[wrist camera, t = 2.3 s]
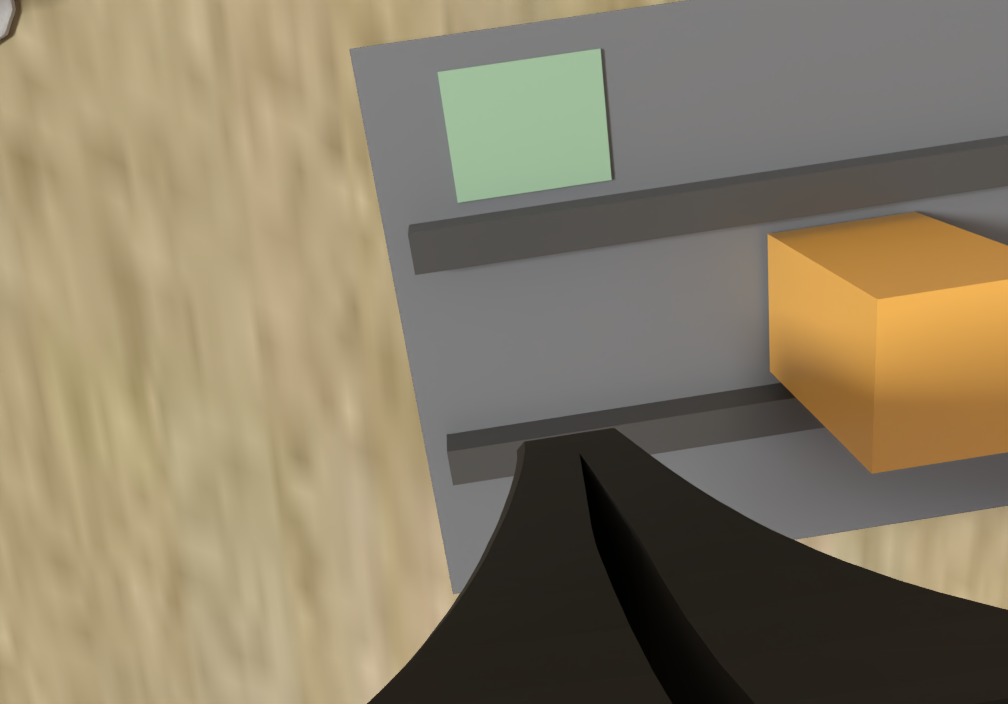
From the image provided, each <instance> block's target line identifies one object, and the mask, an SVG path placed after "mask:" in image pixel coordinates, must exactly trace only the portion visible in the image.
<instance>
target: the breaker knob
mask: <svg viewBox="0 0 1008 704" xmlns="http://www.w3.org/2000/svg"><path fill="white" fill-rule="evenodd" d="M768 291H769V349H770V372H771V373H772V374H773V375H774V376H775V377H776V378H777V379H778V380H779V381H780V382H781V383H782V384H783V385H784V386H785V387H786V388H787V389H788V390H789V391H790V392H791V393H792V394H793V395H794V396H795V397H796V398H797V399H798V400H799V401H800V402H801V403H802V404H803V405H804V406H805V407H806V408H807V409H808V410H809V411H810V412H811V413H812V414H813V415H814V416H815V417H816V418H817V419H818V420H819V421H820V422H821V423H822V424H823V425H824V426H825V427H826V428H827V429H828V430H829V431H830V432H831V433H832V434H833V435H834V436H835V437H836V438H837V439H838V440H839V441H840V442H841V443H842V444H843V445H844V446H845V447H846V448H847V449H848V451H849V452H850V453H851V454H852V455H853V456H854V457H855V458H856V459H857V460H858V461H859V462H860V463H861V464H862V465H863V466H864V467H865V468H866V469H867V470H868V471H869V472H870V473H871V474H873V473H879V472H886V471H892V470H898V469H905V468H911V467H917V466H924V465H930V464H936V463H943V462H949V461H955V460H962V459H968V458H974V457H981V456H987V455H993V454H1000V453H1006V452H1008V246H1007V245H1005V244H1002V243H999V242H996V241H994V240H991V239H988V238H985V237H983V236H980V235H977V234H974V233H972V232H969V231H966V230H964V229H961V228H958V227H955V226H953V225H950V224H947V223H944V222H942V221H939V220H936V219H933V218H931V217H928V216H925V215H923V214H920V213H917V212H909V213H902V214H896V215H889V216H883V217H876V218H869V219H863V220H856V221H849V222H843V223H836V224H830V225H823V226H816V227H810V228H803V229H796V230H790V231H783V232H776V233H770V234H768Z"/></svg>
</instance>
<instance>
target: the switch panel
mask: <svg viewBox="0 0 1008 704" xmlns="http://www.w3.org/2000/svg"><path fill="white" fill-rule="evenodd" d="M349 50H350V55H351V60H352V66H353V71H354V76H355V81H356V87H357V92H358V97H359V102H360V108H361V113H362V118H363V123H364V129H365V134H366V139H367V144H368V150H369V155H370V160H371V165H372V171H373V176H374V181H375V186H376V192H377V197H378V202H379V207H380V213H381V218H382V223H383V228H384V234H385V239H386V244H387V249H388V255H389V260H390V265H391V270H392V276H393V281H394V286H395V291H396V297H397V302H398V307H399V312H400V318H401V323H402V328H403V333H404V339H405V344H406V349H407V354H408V360H409V365H410V370H411V375H412V381H413V386H414V391H415V396H416V402H417V407H418V412H419V417H420V423H421V428H422V433H423V438H424V444H425V449H426V454H427V459H428V465H429V470H430V475H431V480H432V486H433V491H434V496H435V501H436V507H437V512H438V517H439V522H440V528H441V533H442V538H443V543H444V549H445V554H446V559H447V564H448V570H449V575H450V580H451V585H452V591H453V594H456V593H461V592H462V590H463V588H464V587H465V585H466V584H467V582H468V580H469V579H470V577H471V575H472V573H473V572H474V570H475V568H476V566H477V564H478V563H479V561H480V559H481V557H482V555H483V553H484V551H485V548H486V546H487V544H488V542H489V540H490V538H491V536H492V534H493V532H494V530H495V528H496V526H497V523H498V521H499V518H500V516H501V513H502V510H503V508H504V505H505V502H506V499H507V497H508V494H509V491H510V488H511V484H512V481H513V477H514V474H515V469H516V463H517V450H518V448H519V447H520V446H521V445H522V444H523V442H525V441H531V440H537V439H544V438H550V437H557V436H563V435H570V434H576V433H582V432H589V431H595V430H602V429H608V428H615V429H617V430H618V431H619V432H621V433H622V434H623V435H625V436H626V437H627V438H629V439H630V440H631V441H633V442H634V443H635V444H637V445H638V446H639V447H640V448H642V449H643V450H644V451H646V452H647V453H648V454H650V455H651V456H652V457H654V458H655V459H656V460H658V461H659V462H661V463H662V464H663V465H665V466H666V467H668V468H669V469H670V470H672V471H673V472H675V473H676V474H678V475H679V476H681V477H682V478H683V479H685V480H686V481H688V482H689V483H691V484H693V485H694V486H696V487H697V488H699V489H700V490H702V491H703V492H705V493H707V494H708V495H710V496H712V497H713V498H715V499H716V500H718V501H720V502H722V503H723V504H725V505H727V506H729V507H730V508H732V509H734V510H736V511H737V512H739V513H741V514H743V515H744V516H746V517H748V518H750V519H752V520H753V521H755V522H757V523H759V524H761V525H763V526H765V527H767V528H769V529H771V530H773V531H775V532H778V533H780V534H782V535H784V536H786V537H789V538H791V539H793V540H795V539H801V538H808V537H814V536H820V535H826V534H833V533H839V532H845V531H852V530H858V529H864V528H870V527H877V526H883V525H889V524H895V523H902V522H908V521H914V520H921V519H927V518H933V517H939V516H946V515H952V514H958V513H964V512H971V511H977V510H983V509H989V508H996V507H1002V506H1008V452H1006V453H1000V454H993V455H987V456H981V457H974V458H968V459H962V460H955V461H949V462H943V463H936V464H930V465H924V466H917V467H911V468H905V469H898V470H892V471H886V472H879V473H873V474H871V473H870V472H869V471H868V470H867V469H866V468H865V467H864V466H863V465H862V464H861V463H860V462H859V461H858V460H857V459H856V458H855V457H854V456H853V455H852V454H851V453H850V452H849V451H848V449H847V448H846V447H845V446H844V445H843V444H842V443H841V442H840V441H839V440H838V439H837V438H836V437H835V436H834V435H833V434H832V433H831V432H830V431H829V430H828V429H827V428H826V427H825V426H824V425H823V424H822V423H821V422H820V421H819V420H818V419H817V418H816V417H815V416H814V415H813V414H812V413H811V412H810V411H809V410H808V409H807V408H806V407H805V406H804V405H803V404H802V403H801V402H800V401H799V400H798V399H797V398H796V397H795V396H794V395H793V394H792V393H791V392H790V391H789V390H788V389H787V388H786V387H785V386H784V385H783V384H782V383H781V382H780V381H779V380H778V379H777V378H776V377H775V376H774V375H773V374H772V373H771V372H770V349H769V291H768V234H770V233H776V232H783V231H790V230H796V229H803V228H810V227H816V226H823V225H830V224H836V223H843V222H849V221H856V220H863V219H869V218H876V217H883V216H889V215H896V214H902V213H909V212H917V213H920V214H923V215H925V216H928V217H931V218H933V219H936V220H939V221H942V222H944V223H947V224H950V225H953V226H955V227H958V228H961V229H964V230H966V231H969V232H972V233H974V234H977V235H980V236H983V237H985V238H988V239H991V240H994V241H996V242H999V243H1002V244H1005V245H1007V246H1008V0H686V1H679V2H672V3H665V4H658V5H651V6H645V7H638V8H631V9H624V10H617V11H610V12H603V13H596V14H589V15H582V16H575V17H568V18H561V19H554V20H547V21H540V22H534V23H527V24H520V25H513V26H506V27H499V28H492V29H485V30H478V31H471V32H464V33H457V34H450V35H443V36H436V37H429V38H422V39H416V40H409V41H402V42H395V43H388V44H381V45H374V46H367V47H360V48H353V49H349Z"/></svg>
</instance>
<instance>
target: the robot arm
mask: <svg viewBox="0 0 1008 704" xmlns="http://www.w3.org/2000/svg"><path fill="white" fill-rule="evenodd" d="M367 704H1008V610H1006V609H1002V608H998V607H994V606H990V605H986V604H982V603H978V602H974V601H971V600H967V599H963V598H959V597H955V596H951V595H947V594H943V593H939V592H936V591H933V590H929V589H926V588H923V587H919V586H916V585H913V584H909V583H906V582H903V581H899V580H896V579H893V578H891V577H888V576H885V575H882V574H879V573H876V572H873V571H871V570H868V569H865V568H862V567H859V566H856V565H853V564H851V563H848V562H845V561H842V560H840V559H837V558H835V557H832V556H830V555H827V554H825V553H822V552H820V551H817V550H815V549H813V548H811V547H808V546H806V545H804V544H802V543H800V542H797V541H795V540H793V539H791V538H789V537H786V536H784V535H782V534H780V533H778V532H775V531H773V530H771V529H769V528H767V527H765V526H763V525H761V524H759V523H757V522H755V521H753V520H752V519H750V518H748V517H746V516H744V515H743V514H741V513H739V512H737V511H736V510H734V509H732V508H730V507H729V506H727V505H725V504H723V503H722V502H720V501H718V500H716V499H715V498H713V497H712V496H710V495H708V494H707V493H705V492H703V491H702V490H700V489H699V488H697V487H696V486H694V485H693V484H691V483H689V482H688V481H686V480H685V479H683V478H682V477H681V476H679V475H678V474H676V473H675V472H673V471H672V470H670V469H669V468H668V467H666V466H665V465H663V464H662V463H661V462H659V461H658V460H656V459H655V458H654V457H652V456H651V455H650V454H648V453H647V452H646V451H644V450H643V449H642V448H640V447H639V446H638V445H637V444H635V443H634V442H633V441H631V440H630V439H629V438H627V437H626V436H625V435H623V434H622V433H621V432H619V431H618V430H617V429H615V428H608V429H602V430H595V431H589V432H582V433H576V434H570V435H563V436H557V437H550V438H544V439H537V440H531V441H525V442H523V444H522V445H521V446H520V447H519V448H518V450H517V463H516V469H515V474H514V477H513V481H512V484H511V488H510V491H509V494H508V497H507V499H506V502H505V505H504V508H503V510H502V513H501V516H500V518H499V521H498V523H497V526H496V528H495V530H494V532H493V534H492V536H491V538H490V540H489V542H488V544H487V546H486V548H485V551H484V553H483V555H482V557H481V559H480V561H479V563H478V564H477V566H476V568H475V570H474V572H473V573H472V575H471V577H470V579H469V580H468V582H467V584H466V585H465V587H464V588H463V590H462V592H461V593H460V595H459V596H458V598H457V599H456V601H455V602H454V604H453V605H452V607H451V608H450V610H449V611H448V613H447V614H446V615H445V617H444V618H443V619H442V621H441V622H440V623H439V624H438V626H437V627H436V628H435V630H434V631H433V632H432V634H431V635H430V636H429V638H428V639H427V640H426V642H425V643H424V644H423V645H422V647H421V648H420V649H419V650H418V651H417V653H416V654H415V655H414V656H413V657H412V659H411V660H410V661H409V662H408V663H407V664H406V665H405V667H404V668H403V669H402V670H401V671H400V672H399V673H398V674H397V675H396V676H395V677H394V678H393V679H392V680H391V681H390V682H389V683H388V684H387V685H386V686H385V687H384V688H383V689H382V690H381V691H380V692H379V693H378V694H377V695H376V696H375V697H374V698H373V699H372V700H371V701H370V702H369V703H367Z"/></svg>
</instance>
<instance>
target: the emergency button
mask: <svg viewBox="0 0 1008 704" xmlns="http://www.w3.org/2000/svg"><path fill="white" fill-rule="evenodd" d="M15 12H16V7H15V1H14V0H0V40H1V39H2V38H4V37H5V36H7V35H8V34H9V31H10V27H11V24H12V21H13V18H14V15H15Z"/></svg>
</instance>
